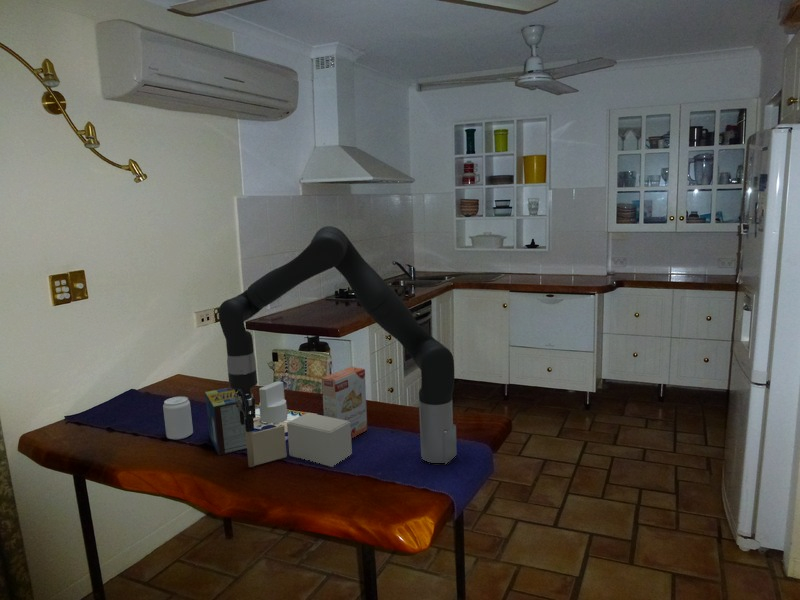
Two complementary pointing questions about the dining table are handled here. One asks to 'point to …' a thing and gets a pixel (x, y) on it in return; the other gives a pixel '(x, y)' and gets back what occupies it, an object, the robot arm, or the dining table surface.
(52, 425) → the dining table surface
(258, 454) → the flap
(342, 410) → the cracker box
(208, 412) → the protein box
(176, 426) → the beverage can
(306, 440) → the carton
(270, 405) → the cylinder with rectangular tab
